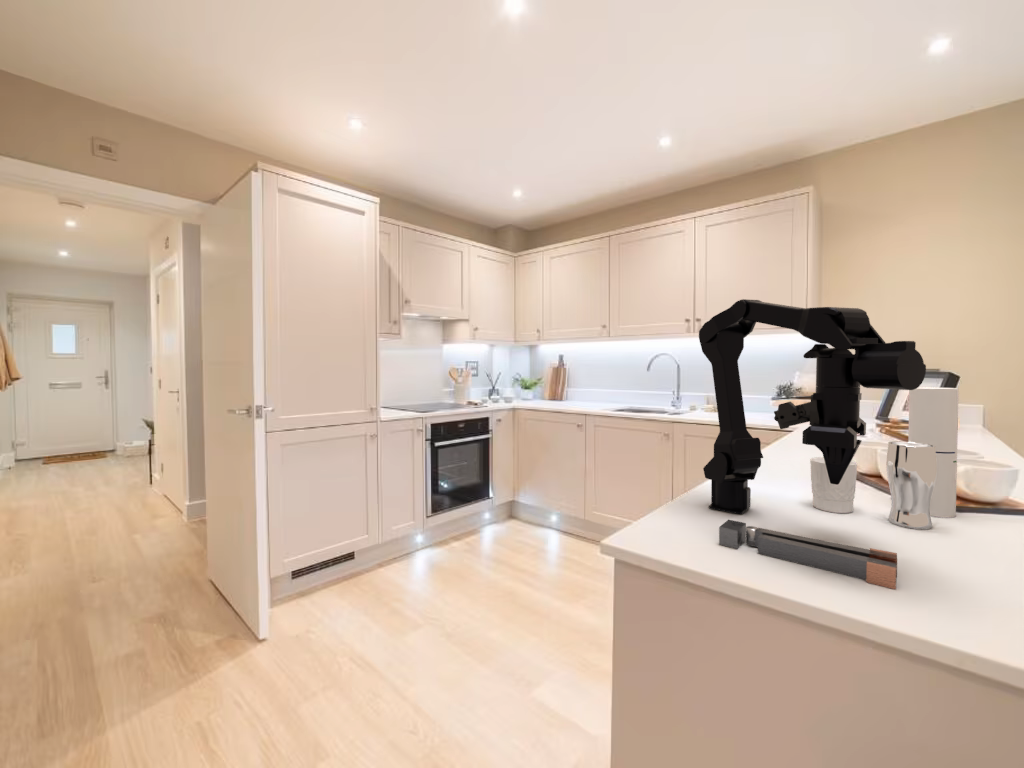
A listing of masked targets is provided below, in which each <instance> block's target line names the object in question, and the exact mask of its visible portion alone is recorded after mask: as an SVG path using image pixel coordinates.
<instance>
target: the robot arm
mask: <svg viewBox="0 0 1024 768" xmlns="http://www.w3.org/2000/svg"><path fill="white" fill-rule="evenodd" d="M756 323H759V324H764V325H765V324H766V325H769V326H775V327H780V328H784V329H789V330H793V331H794V332H795V331H796V332H797V333H799V334H800V335H801V336H803V337H804V338H807V339H809V340H811V341H814V342H816V343H815V344H814V345H813V347H811V348H810V349H809V350H807V351H806V352H805V353H804V354H803V358H804V359H816V366H815V367H816V368H815V370H816V371H815V392H812V394H811V395H810V401H808V402H804V403H801V404H797V405H795V404H794V403H793V402H792V401H787V402H783V403H780V404H778V408H777V410H774V411H773V413H774V417H773V420H775V421H776V422H777V424H778V427H779V429H780V430H784V429H788V428H790V427H792V426H796V425H801V424H804V423H805V424H806V423H808V422H809V426H808V427H807V428H805V429H804V430H803V431H802V440H801V441H802V444H803V445H809V446H814V447H816V448H817V449H818V450H819V451H820V452H821V453H822V457H824V460H825V464H826V468H827V472H828V476H829V480H830V483H831V484H836V485H838V484H839V483H840V481H841V479H842V477H843V475H844V474H845V472H846V470H847V468H848V466H849V464H850V462H851V461H853V459H854V457H855V455H856V453H857V451H858V449H859V447H860V445H861V444H862V442H863V441H862V440H861V439H858V434H859V436H862V437H863V436H866V433H867V422H865V421H864V420H863V419H862V417H860V411H861V409H860V407H861V406H860V403H861V402H860V401H862V392H861V387H863V388H866V389H879V390H882V389H883V390H897V391H898V390H899V391H901V390H902V391H909V390H914V389H916V388H918V387H921V385H922V383H923V381H924V380H925V376H926V372H927V365H926V363H925V362H924V359H923V356H922V354H921V353H920V352H919V351H918V350H917V349H916V345H917V344H916V341H914V340H897V341H892V342H886V341H885V340H884V339H883V338H882V336H881V335H880V334H879V332H878V331H877V330H876V329H875V328H874V327H873V325H872V324H871V322H870V317H869V315H868V314H867V311H866V310H865V309H864V310H863V309H862V308H860V307H859V308H858V307H857V308H856V307H839V306H838V307H837V306H822V307H821V306H820V307H807V308H804V307H799V306H792V305H784V304H778V303H771V302H765V301H762V300H759V299H744V298H742V299H738V300H737V301H736V302H734V303H733V304H732V305H731V306H730V307H729V308H727V309H725V310H723V311H720V312H719V313H717V314H715V315H713V316H712V317H711V318H710V319H709V320H707V321H706V322H705V323H704V324H703V325H702V326H701V328H700V329H699V331H698V340H699V345H700V347H701V352H702V353H703V354H704V356H705V357H706V358H707V360H708V361H709V363H710V364H711V368H712V369H711V371H712V376H713V379H712V380H713V386H714V392H715V394H714V395H715V401H716V410H717V417H718V418H717V419H718V427H719V433H718V435H717V437H716V438H715V441H714V444H713V457H712V458H711V459H710V460H709V461H707V463H706V464H705V465H704V466H703V468H702V469H703V475H704V478H706V479H707V480H710V481H711V487H710V488H711V499H710V501H711V503H710V504H708V507H707V508H709V509H710V510H711V509H712V510H716V511H720V512H721V511H722V512H726V513H732V514H737V515H743V514H744V513H745V512H747V511H748V510H749V509H750V508H751V491H752V490H751V487H749V486H748V485H749V480H750V481H754V480H755V478H756V475H757V473H758V469H759V468H760V467H761V466H762V459H763V458H764V456H763V454H762V453H763V452H762V450H761V444H762V443H761V440H760V437H753V436H752V434H750V431H748V429H747V422H746V415H745V409H744V400H743V391H742V386H741V385H742V383H741V376H740V370H739V359H740V356H741V354H742V352H743V350H744V347H745V346H744V345H745V343H744V342H745V338H746V337H747V336H748V335H750V334H751V333H752V332H753V330H754V328H755V326H756ZM828 345H830V346H831V347H828ZM850 350H854V354H853V353H852V351H850Z"/></svg>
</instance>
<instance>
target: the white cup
mask: <svg viewBox="0 0 1024 768" xmlns="http://www.w3.org/2000/svg"><path fill="white" fill-rule="evenodd" d="M809 459H810V460H809V461H810V462H809V464H810V482H811V485H810V486H811V493H812V504H813V505H812V506H813V507H814V508H816V509H817V510H821V511H824V512H829V513H834V514H835V513H836V514H849V513H850V514H851V513H852V512H853V510H854V499H855V497H856V496H855V494H856V488H857V487H856V484H857V472H858V471H857V470H858V463H857V461H854V460H851V462H850V464H849V466H848V468H847V470H846V472H845V474H844V475H843V477H842V479H841V481H840V483H839V484H838V485H836V484H831V483H830V480H829V476H828V472H827V468H826V464H825V460H824V457H823V456H818V457H817V456H816V457H815V456H814V457H811V458H809Z"/></svg>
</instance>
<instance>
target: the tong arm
mask: <svg viewBox="0 0 1024 768" xmlns="http://www.w3.org/2000/svg"><path fill="white" fill-rule="evenodd" d="M761 534H764V535H768V536H773V537H777V538H782V539H787V540H791V541H796V542H800V543H805V544H810V545H814V546H819V547H823V548H828V549H832V550H837V551H842V552H846V553H851V554H855V555H860V556H865V557H869V558H874V559H878V560H883V561H887V562H892V563H897V564H898V553H897V552H892V551H887V550H882V549H876V548H870V547H869V549H868V548H863V547H857V546H852V545H848V544H843V543H838V542H833V541H828V540H822V539H818V538H813V537H807V536H803V535H796V534H792V533H787V532H781V531H777V530H771V529H767V528H762V527H758V526H753V525H749V526H747V525H746V541H745V544H746V545H748V546H751V547H756V548H758V537H759V536H760V535H761ZM897 577H898V570H897V571H896V579H897Z"/></svg>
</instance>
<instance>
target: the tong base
mask: <svg viewBox="0 0 1024 768" xmlns="http://www.w3.org/2000/svg"><path fill="white" fill-rule="evenodd" d="M746 527H747V523H746V522H744V521H743V522H742V521H737V520H732V519H727V520H726V521H725V522H723V523H722V524H721V525H720V526H719V529H718V531H719V532H718V534H719V536H718V537H719V538H718V541H719V542H718V545H719V546H724V547H726V548H731V549H735V550H738V549H739V548H740V547H741V546H742V545H743V544H744V543H746ZM757 554H760V555H763V556H767V557H772V558H776V559H780V560H783V561H788V562H792V563H797V564H800V565H802V566H808V567H812V568H816V569H821V570H824V571H828V572H833V573H836V574H841V575H845V576H849V577H852V578H857V579H862V580H864V581H866V583H868V584H871V585H877V586H881V587H884V588H889V589H892V590H897V578H896V571H897V572H898V562H897V563H892V562H887V561H883V560H878V559H874V558H869V557H865V556H860V555H855V554H851V553H846V552H842V551H837V550H832V549H828V548H823V547H819V546H814V545H810V544H805V543H800V542H796V541H791V540H787V539H782V538H777V537H773V536H768V535H764V534H761V535H760V536H759V537H758V547H757Z"/></svg>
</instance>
